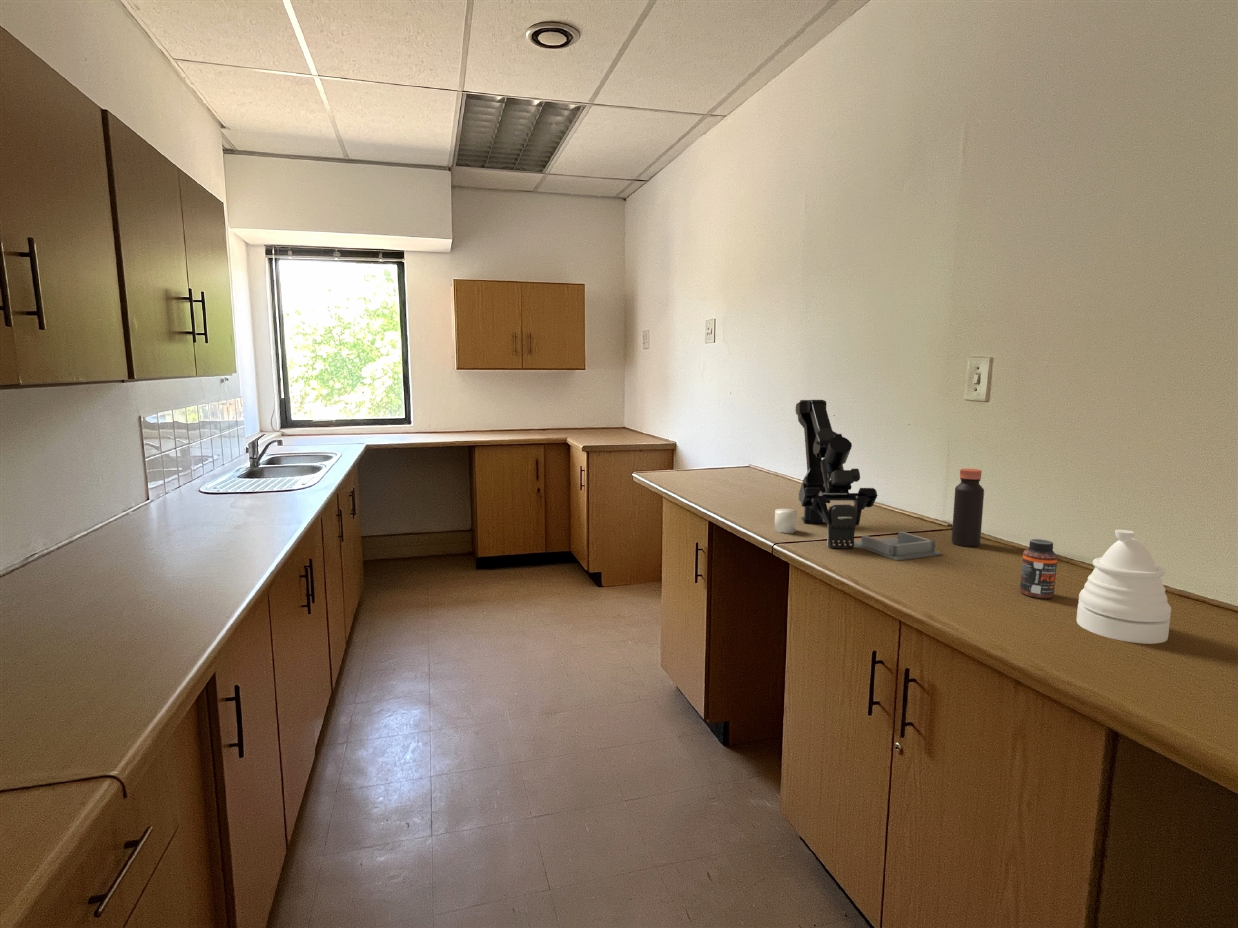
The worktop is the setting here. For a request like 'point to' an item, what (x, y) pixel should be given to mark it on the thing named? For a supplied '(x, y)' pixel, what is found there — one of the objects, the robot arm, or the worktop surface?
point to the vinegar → (968, 509)
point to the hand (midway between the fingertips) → (843, 524)
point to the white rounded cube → (785, 520)
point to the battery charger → (841, 526)
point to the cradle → (900, 546)
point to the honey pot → (1125, 595)
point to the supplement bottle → (1039, 569)
